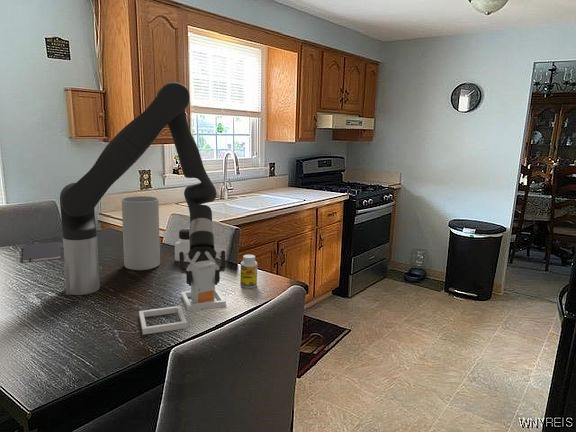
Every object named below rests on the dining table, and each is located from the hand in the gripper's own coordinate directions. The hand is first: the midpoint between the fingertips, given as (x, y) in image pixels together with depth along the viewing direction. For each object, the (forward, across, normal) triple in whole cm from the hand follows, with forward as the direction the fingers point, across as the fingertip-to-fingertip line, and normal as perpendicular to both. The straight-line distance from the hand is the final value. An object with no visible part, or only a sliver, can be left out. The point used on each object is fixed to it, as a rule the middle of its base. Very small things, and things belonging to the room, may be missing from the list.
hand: (203, 284), depth 122 cm
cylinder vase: (-22, -21, +31) cm, 43 cm away
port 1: (+12, -11, -3) cm, 16 cm away
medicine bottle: (-26, -4, +35) cm, 44 cm away
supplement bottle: (-4, +15, +13) cm, 21 cm away
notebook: (-36, -60, +46) cm, 84 cm away
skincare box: (+3, 0, +6) cm, 6 cm away
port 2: (+3, 0, +5) cm, 6 cm away
